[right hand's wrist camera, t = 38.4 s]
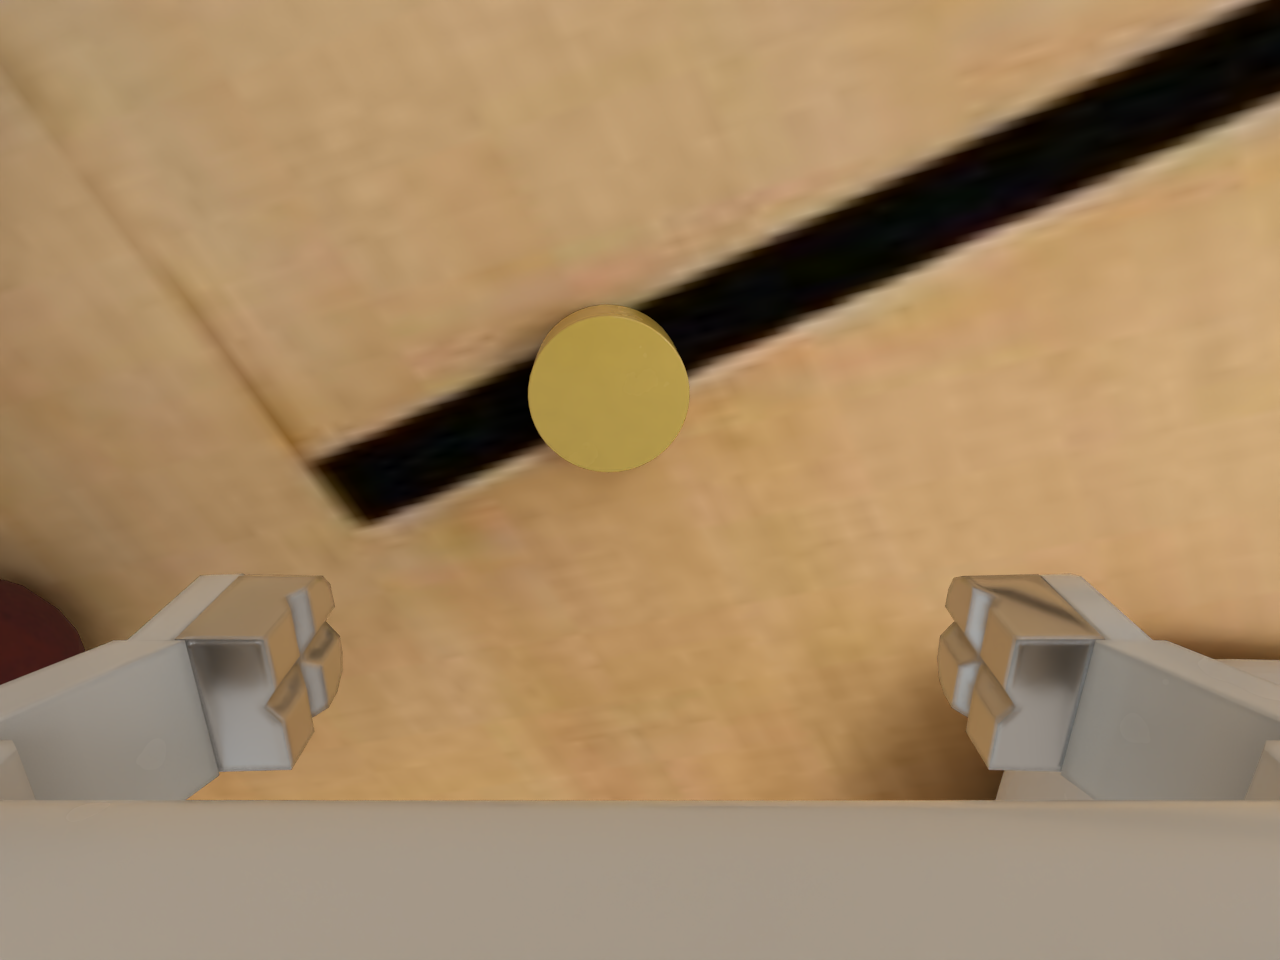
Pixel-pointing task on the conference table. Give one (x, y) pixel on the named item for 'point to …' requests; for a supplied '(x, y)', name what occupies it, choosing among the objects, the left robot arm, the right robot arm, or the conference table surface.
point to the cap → (608, 389)
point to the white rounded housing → (1059, 788)
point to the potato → (32, 633)
